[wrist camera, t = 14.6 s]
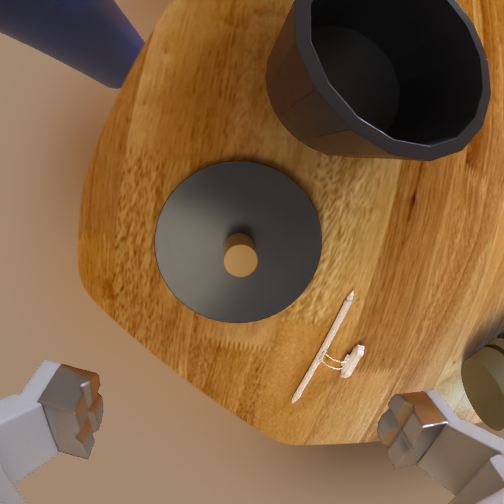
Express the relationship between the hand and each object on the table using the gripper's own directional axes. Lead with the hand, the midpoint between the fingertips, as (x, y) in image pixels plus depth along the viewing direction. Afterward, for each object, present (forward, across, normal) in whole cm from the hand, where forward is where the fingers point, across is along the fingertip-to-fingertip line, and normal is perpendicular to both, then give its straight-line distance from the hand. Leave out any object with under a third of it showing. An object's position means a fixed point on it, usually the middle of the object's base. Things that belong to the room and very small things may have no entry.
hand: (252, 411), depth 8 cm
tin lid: (+19, -1, +1) cm, 19 cm away
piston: (+19, -38, +11) cm, 44 cm away
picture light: (+20, -12, +11) cm, 26 cm away
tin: (+20, -7, -14) cm, 25 cm away
